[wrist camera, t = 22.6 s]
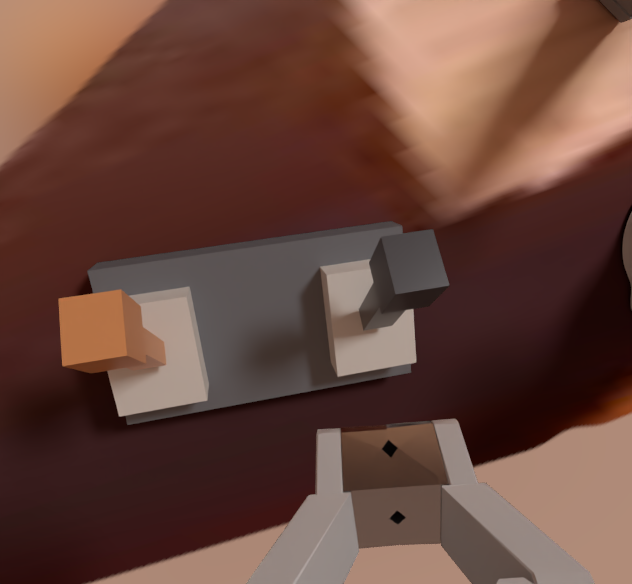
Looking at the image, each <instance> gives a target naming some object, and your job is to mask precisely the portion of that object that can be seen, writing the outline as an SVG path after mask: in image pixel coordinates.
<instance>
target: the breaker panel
mask: <svg viewBox="0 0 632 584" xmlns="http://www.w3.org/2000/svg"><path fill="white" fill-rule="evenodd" d="M396 234H403V232H402V225H399V224H397V223H394V222H392V221H389V222H382V223H375V224H368V225H361V226H354V227H347V228H340V229H333V230H326V231H318V232H311V233H304V234H297V235H290V236H283V237H276V238H269V239H262V240H255V241H248V242H241V243H234V244H227V245H220V246H213V247H206V248H199V249H192V250H185V251H178V252H170V253H163V254H156V255H149V256H142V257H135V258H128V259H121V260H114V261H107V262H100V263H97V264H95V265H94V266H93V267H92V268H90V269H89V270H88V275H89V279H90V283H91V287H92V290H93V293H100V292H107V291H113V290H120V289H121V290H122V291H124V292H125V293H126V294H127V295H128V296H129V297H131V298H132V299H133V300H134V301H135V302H136V303H138V304H139V305H140V306H141V313H142V324H143V327H144V328H145V329H147V330H148V331H149V332H151V333H152V334H154V335H155V336H156V337H158V338H159V339H161V340H162V341H163V342H164V346H165V355H166V365H164V366H158V367H152V368H146V369H140V370H131V369H128V368H121V369H115V370H109V371H107V372H108V376H109V380H110V384H111V387H112V391H113V395H114V399H115V402H116V406H117V410H118V414H119V417H120V416H125V417H126V421H127V425H131V424H136V423H141V422H147V421H152V420H158V419H163V418H168V417H174V416H179V415H185V414H190V413H195V412H201V411H206V410H211V409H217V408H222V407H228V406H233V405H238V404H244V403H249V402H255V401H260V400H265V399H271V398H276V397H282V396H287V395H292V394H298V393H303V392H309V391H314V390H319V389H325V388H330V387H336V386H341V385H346V384H352V383H357V382H363V381H368V380H373V379H379V378H384V377H390V376H395V375H400V374H406V373H411V364H410V363H416V349H415V332H414V314H413V309H410V310H405V312H404V313H403V314H402V315H401V316H400V317H399V318H398V320H397V321H396V322H395V323H394V324H393V325H392V326H388V327H382V328H377V329H371V330H365V331H363V326H362V322H361V318H360V313H359V308H360V306H361V304H362V303H363V301H364V299H365V297H366V295H367V293H368V291H369V290H370V288H371V286H372V284H373V278H372V274H371V270H370V265H369V261H370V259H371V257H372V255H373V253H374V251H375V248H376V246H377V244H378V242H379V240H380V238H381V237H383V236H389V235H396Z"/></svg>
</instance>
